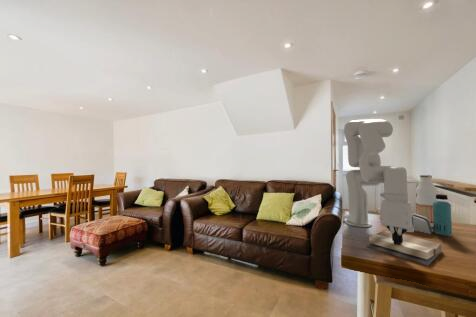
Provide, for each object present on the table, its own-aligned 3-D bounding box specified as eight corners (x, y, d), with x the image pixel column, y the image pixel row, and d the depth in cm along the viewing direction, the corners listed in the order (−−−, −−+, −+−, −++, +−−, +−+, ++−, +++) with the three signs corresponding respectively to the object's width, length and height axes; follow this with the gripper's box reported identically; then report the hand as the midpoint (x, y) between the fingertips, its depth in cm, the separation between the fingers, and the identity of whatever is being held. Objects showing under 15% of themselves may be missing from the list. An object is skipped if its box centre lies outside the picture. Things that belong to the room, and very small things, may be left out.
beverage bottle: (449, 234, 99) (447, 193, 100) (455, 239, 93) (454, 195, 94) (431, 232, 102) (429, 193, 103) (436, 237, 96) (435, 195, 97)
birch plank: (369, 242, 89) (369, 236, 89) (377, 239, 93) (377, 234, 93) (427, 259, 73) (427, 252, 73) (433, 255, 77) (433, 248, 77)
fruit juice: (419, 226, 112) (417, 175, 112) (414, 221, 120) (412, 174, 120) (442, 229, 107) (440, 175, 108) (435, 223, 116) (433, 174, 116)
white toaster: (434, 232, 103) (431, 214, 102) (431, 237, 101) (428, 219, 99) (395, 223, 117) (391, 208, 116) (391, 228, 115) (388, 212, 113)
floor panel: (366, 246, 88) (366, 239, 88) (384, 237, 98) (383, 230, 98) (427, 265, 72) (427, 256, 72) (441, 251, 82) (441, 243, 82)
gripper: (370, 196, 86) (372, 240, 85) (416, 201, 73) (418, 252, 73) (378, 194, 90) (380, 236, 89) (423, 198, 78) (425, 247, 77)
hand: (397, 243), depth 81 cm, fingers closed
